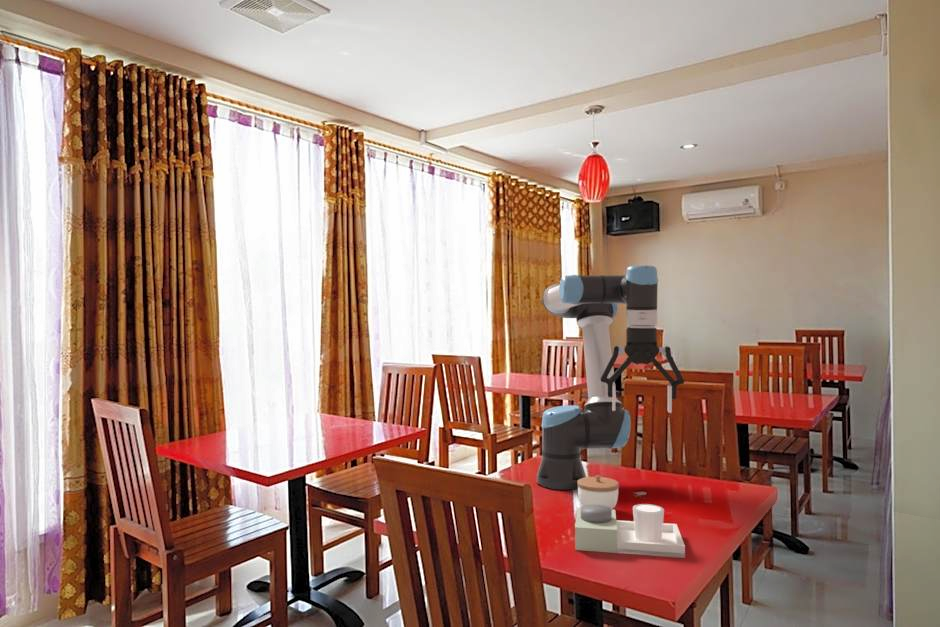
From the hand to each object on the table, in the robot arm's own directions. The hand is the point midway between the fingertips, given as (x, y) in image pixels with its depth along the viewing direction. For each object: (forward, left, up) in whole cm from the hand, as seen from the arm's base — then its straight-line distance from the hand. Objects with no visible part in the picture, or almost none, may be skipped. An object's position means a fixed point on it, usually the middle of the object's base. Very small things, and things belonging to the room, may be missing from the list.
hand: (641, 411), depth 154 cm
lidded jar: (-4, -11, -28) cm, 30 cm away
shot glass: (+17, 0, -27) cm, 31 cm away
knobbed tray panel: (+17, -4, -27) cm, 32 cm away
